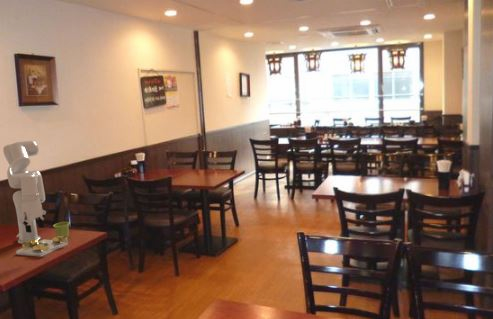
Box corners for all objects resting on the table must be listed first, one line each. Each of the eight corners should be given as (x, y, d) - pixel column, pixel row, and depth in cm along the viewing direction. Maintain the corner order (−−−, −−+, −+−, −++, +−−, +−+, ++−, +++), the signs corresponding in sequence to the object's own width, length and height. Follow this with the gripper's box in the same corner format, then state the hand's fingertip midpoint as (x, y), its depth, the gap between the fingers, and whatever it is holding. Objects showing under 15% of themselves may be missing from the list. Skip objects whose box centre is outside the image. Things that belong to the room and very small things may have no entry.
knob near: (34, 242, 255) (33, 237, 255) (40, 243, 254) (39, 237, 253) (20, 248, 246) (19, 242, 246) (26, 249, 245) (25, 243, 244)
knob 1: (31, 250, 241) (30, 245, 241) (38, 248, 245) (37, 242, 245) (45, 251, 238) (44, 246, 237) (51, 249, 242) (50, 243, 241)
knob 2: (51, 242, 254) (50, 236, 253) (56, 239, 258) (56, 234, 258) (64, 243, 250) (63, 237, 250) (69, 240, 254) (69, 235, 254)
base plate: (16, 254, 245) (15, 246, 244) (44, 242, 263) (43, 235, 262) (41, 256, 238) (40, 249, 237) (67, 244, 256) (67, 237, 256)
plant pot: (65, 240, 265) (63, 226, 264) (51, 240, 267) (49, 226, 266) (74, 235, 274) (72, 221, 273) (61, 235, 276) (59, 221, 275)
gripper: (38, 193, 241) (42, 224, 243) (11, 201, 225) (16, 234, 227) (48, 194, 238) (52, 225, 240) (22, 202, 222) (27, 235, 224)
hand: (35, 229), depth 234 cm, fingers open, 7 cm apart
